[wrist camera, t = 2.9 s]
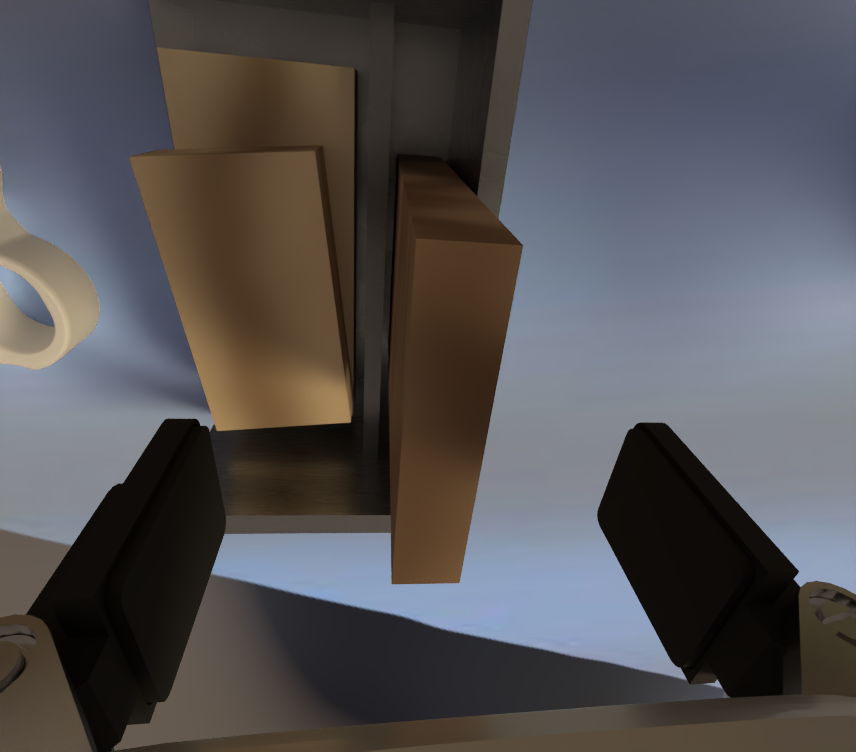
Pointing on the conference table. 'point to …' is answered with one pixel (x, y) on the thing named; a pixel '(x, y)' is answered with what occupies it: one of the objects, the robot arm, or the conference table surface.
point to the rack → (363, 210)
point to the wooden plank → (441, 361)
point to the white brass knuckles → (57, 286)
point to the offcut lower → (275, 129)
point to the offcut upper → (253, 279)
